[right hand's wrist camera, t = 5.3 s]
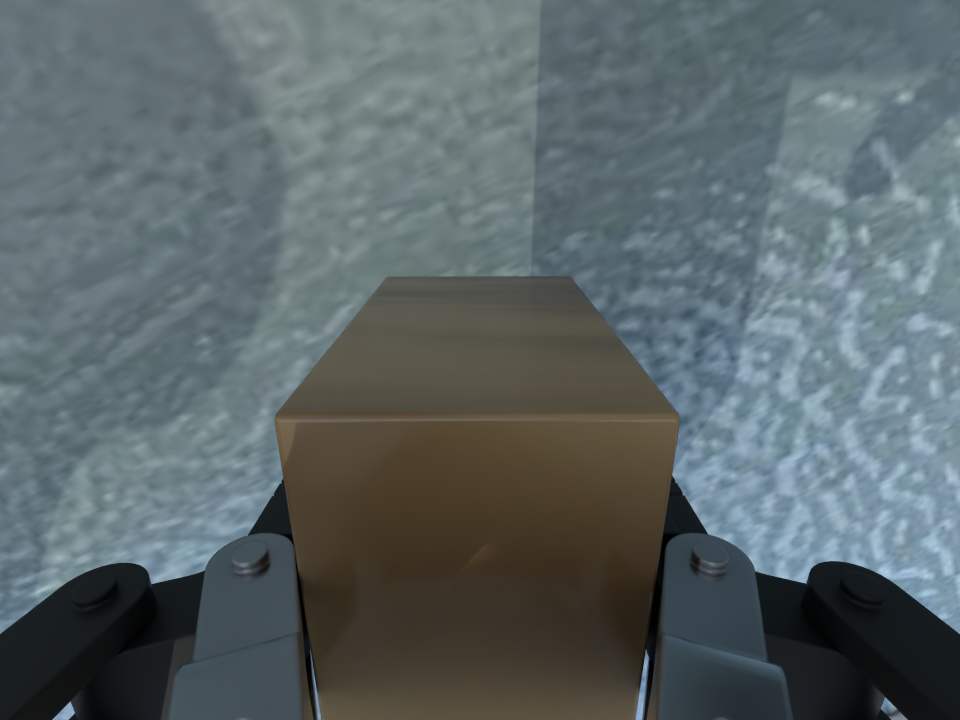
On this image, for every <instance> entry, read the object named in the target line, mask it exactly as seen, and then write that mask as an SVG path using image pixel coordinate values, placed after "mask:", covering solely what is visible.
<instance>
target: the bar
mask: <svg viewBox="0 0 960 720" xmlns="http://www.w3.org/2000/svg"><path fill="white" fill-rule="evenodd" d="M274 420H275V427H276V434H277V440H278V446H279V453H280V459H281V465H282V472H283V478H284V484H285V491H286V497H287V503H288V510H289V516H290V523H291V529H292V535H293V542H294V548H295V554H296V561H297V567H298V573H299V580H300V586H301V592H302V599H303V605H304V611H305V618H306V624H307V631H308V637H309V643H310V650H311V656H312V662H313V669H314V675H315V681H316V688H317V694H318V700H319V707H320V713H321V719H322V720H635V718H636V711H637V705H638V698H639V691H640V685H641V678H642V671H643V665H644V658H645V651H646V645H647V638H648V631H649V625H650V618H651V611H652V605H653V598H654V591H655V584H656V578H657V571H658V564H659V558H660V551H661V544H662V538H663V531H664V524H665V518H666V511H667V504H668V498H669V491H670V484H671V478H672V471H673V464H674V458H675V451H676V444H677V437H678V431H679V424H680V416H679V414H678V412H677V411H676V410H675V408H674V407H673V406H672V405H671V403H670V402H669V401H668V400H667V398H666V397H665V396H664V395H663V393H662V392H661V391H660V389H659V388H658V387H657V386H656V384H655V383H654V382H653V381H652V379H651V378H650V377H649V375H648V374H647V373H646V372H645V370H644V369H643V368H642V367H641V365H640V364H639V363H638V362H637V360H636V359H635V358H634V356H633V355H632V354H631V353H630V351H629V350H628V349H627V348H626V346H625V345H624V344H623V342H622V341H621V340H620V339H619V337H618V336H617V335H616V334H615V332H614V331H613V330H612V329H611V327H610V326H609V325H608V323H607V322H606V321H605V320H604V318H603V317H602V316H601V315H600V313H599V312H598V311H597V309H596V308H595V307H594V306H593V304H592V303H591V302H590V301H589V299H588V298H587V297H586V296H585V294H584V293H583V292H582V290H581V289H580V288H579V287H578V285H577V284H576V283H575V282H574V280H573V279H572V278H571V277H569V276H551V277H387V278H386V279H385V280H384V281H383V282H382V284H381V285H380V286H379V287H378V289H377V290H376V291H375V292H374V294H373V295H372V296H371V297H370V299H369V300H368V301H367V302H366V303H365V305H364V306H363V307H362V308H361V310H360V311H359V312H358V313H357V315H356V316H355V317H354V318H353V320H352V321H351V322H350V323H349V325H348V326H347V327H346V328H345V329H344V331H343V332H342V333H341V334H340V336H339V337H338V338H337V339H336V341H335V342H334V343H333V344H332V346H331V347H330V348H329V349H328V351H327V352H326V353H325V354H324V355H323V357H322V358H321V359H320V360H319V362H318V363H317V364H316V365H315V367H314V368H313V369H312V370H311V372H310V373H309V374H308V375H307V376H306V378H305V379H304V380H303V381H302V383H301V384H300V385H299V386H298V388H297V389H296V390H295V391H294V393H293V394H292V395H291V396H290V398H289V399H288V400H287V401H286V402H285V404H284V405H283V406H282V407H281V409H280V410H279V411H278V412H277V414H276V416H275V419H274Z"/></svg>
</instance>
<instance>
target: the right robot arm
mask: <svg viewBox="0 0 960 720" xmlns="http://www.w3.org/2000/svg"><path fill="white" fill-rule="evenodd" d="M646 650H647V653H648V656H649V659H648V665H647V675H646V685H645V696H644V707H643V718H642V720H891V719H890V718H889V717H888V716H887V715H886V714H885V713H884V712H883V711H882V710H881V706H882V704H883V701H884V699H885V697H886V698H887V699H888V700H889V701H890V702H891V703H892V704H893V705H894V706H895V707H896V708H897V709H898V710H899V711H900V712H901V713H902V714H903V715H904V716H905V717H906V718H907V719H908V720H960V634H959V633H958V632H956V631H955V630H954V629H952V628H951V627H950V626H949V625H947V624H946V623H945V622H943V621H942V620H941V619H940V618H938V617H937V616H936V615H934V614H933V613H932V612H931V611H929V610H928V609H927V608H925V607H924V606H923V605H922V604H920V603H919V602H918V601H916V600H915V599H914V598H913V597H911V596H910V595H909V594H907V593H906V592H905V591H904V590H902V589H901V588H900V587H898V586H897V585H896V584H894V583H893V582H891V581H890V580H888V579H887V578H885V577H883V576H882V575H880V574H878V573H876V572H874V571H871V570H869V569H866V568H864V567H861V566H858V565H855V564H850V563H846V562H838V561H829V562H822V563H819V564H817V565H815V566H814V567H813V568H812V569H811V571H810V573H809V576H808V580H807V583H806V584H805V583H801V582H796V581H792V580H787V579H783V578H779V577H774V576H770V575H766V574H762V573H758V572H756V571H755V569H754V566H753V564H752V562H751V560H750V559H749V558H748V557H747V555H746V554H745V553H743V552H742V551H741V550H740V549H739V548H737V547H736V546H734V545H733V544H731V543H729V542H727V541H725V540H723V539H721V538H718V537H715V536H711V535H708V533H707V532H706V530H705V528H704V527H703V525H702V524H701V522H700V520H699V519H698V517H697V515H696V514H695V512H694V510H693V509H692V507H691V506H690V504H689V502H688V501H687V499H686V497H685V496H683V495H682V491H681V489H680V488H679V486H678V484H677V483H675V479H674V478H673V476H672V478H671V484H670V491H669V498H668V504H667V511H666V518H665V524H664V531H663V538H662V544H661V551H660V558H659V564H658V571H657V578H656V584H655V591H654V598H653V605H652V611H651V618H650V625H649V631H648V638H647V645H646ZM70 701H71V704H72V706H73V709H74V711H75V714H74V715H73V716H72V717H71V718H70V719H69V720H318V718H317V707H316V696H315V685H314V675H313V665H312V659H311V653H310V643H309V637H308V631H307V624H306V618H305V611H304V605H303V599H302V592H301V586H300V580H299V573H298V567H297V561H296V554H295V548H294V542H293V535H292V529H291V523H290V516H289V510H288V503H287V497H286V491H285V484H284V478H283V480H282V484H280V485H279V486H278V488H277V489H276V491H275V493H274V496H272V497H271V499H270V501H269V502H268V504H267V505H266V507H265V509H264V510H263V512H262V514H261V515H260V517H259V518H258V520H257V522H256V523H255V525H254V526H253V528H252V530H251V531H250V533H249V534H248V536H245V537H242V538H239V539H237V540H235V541H233V542H231V543H229V544H227V545H226V546H224V547H223V548H221V549H220V550H219V551H218V552H217V553H215V554H214V555H213V557H212V558H211V559H210V560H209V562H208V564H207V566H206V569H205V571H203V572H200V573H197V574H194V575H190V576H186V577H182V578H177V579H173V580H168V581H164V582H159V583H155V584H151V581H150V578H149V574H148V572H147V570H146V569H145V568H144V567H142V566H140V565H137V564H133V563H117V564H110V565H106V566H102V567H99V568H96V569H93V570H91V571H88V572H86V573H84V574H82V575H80V576H78V577H76V578H74V579H72V580H71V581H69V582H67V583H66V584H65V585H63V586H62V587H60V588H59V589H58V590H56V591H55V592H54V593H53V594H51V595H50V596H49V597H47V598H46V599H45V600H44V601H42V602H41V603H40V604H38V605H37V606H36V607H35V608H33V609H32V610H31V611H29V612H28V613H27V614H26V615H24V616H23V617H22V618H20V619H19V620H18V621H17V622H15V623H14V624H13V625H11V626H10V627H9V628H8V629H6V630H5V631H4V632H2V633H1V634H0V720H52V719H53V718H54V717H55V716H56V715H57V714H58V713H59V712H60V711H61V710H62V709H63V708H64V707H65V706H66V705H67V704H68V703H69V702H70Z"/></svg>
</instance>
